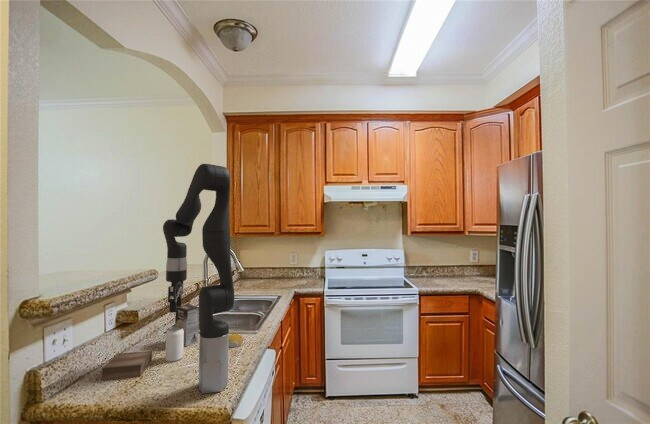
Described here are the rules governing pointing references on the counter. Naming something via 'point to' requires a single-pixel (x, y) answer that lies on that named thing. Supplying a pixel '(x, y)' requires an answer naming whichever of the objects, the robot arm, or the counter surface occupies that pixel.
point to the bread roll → (235, 340)
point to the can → (174, 343)
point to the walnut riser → (127, 365)
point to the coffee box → (188, 322)
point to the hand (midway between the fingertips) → (175, 309)
